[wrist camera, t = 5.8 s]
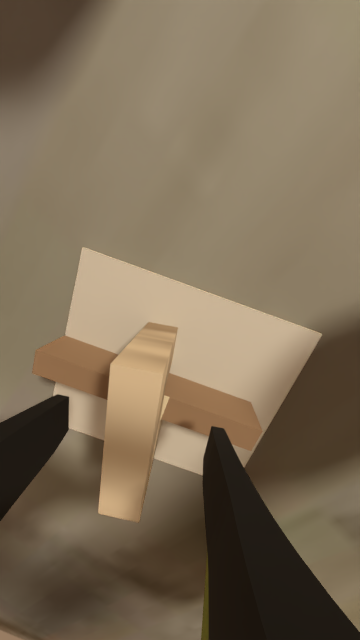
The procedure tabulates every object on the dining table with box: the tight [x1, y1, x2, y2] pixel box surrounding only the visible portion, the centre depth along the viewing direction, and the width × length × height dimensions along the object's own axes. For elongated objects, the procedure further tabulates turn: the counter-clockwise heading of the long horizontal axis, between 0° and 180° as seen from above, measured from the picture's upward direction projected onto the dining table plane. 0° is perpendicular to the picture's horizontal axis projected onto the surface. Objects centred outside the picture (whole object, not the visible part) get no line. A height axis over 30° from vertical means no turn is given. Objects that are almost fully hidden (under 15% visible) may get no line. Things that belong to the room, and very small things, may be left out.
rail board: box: [32, 247, 322, 475], centre depth 13 cm, size 16×14×3 cm
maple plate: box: [98, 322, 178, 523], centre depth 11 cm, size 8×2×6 cm, turn 170°
